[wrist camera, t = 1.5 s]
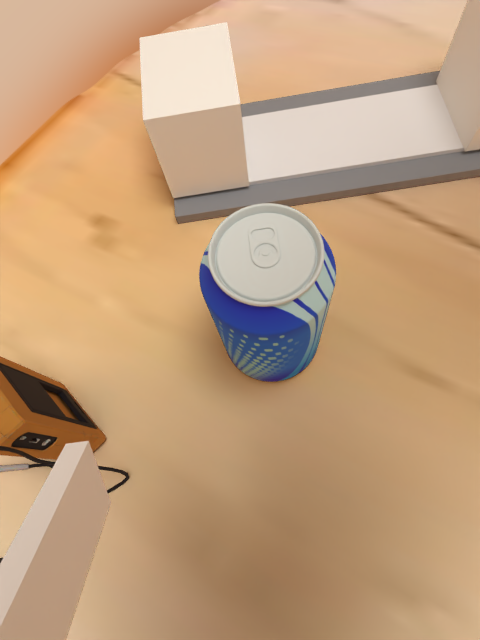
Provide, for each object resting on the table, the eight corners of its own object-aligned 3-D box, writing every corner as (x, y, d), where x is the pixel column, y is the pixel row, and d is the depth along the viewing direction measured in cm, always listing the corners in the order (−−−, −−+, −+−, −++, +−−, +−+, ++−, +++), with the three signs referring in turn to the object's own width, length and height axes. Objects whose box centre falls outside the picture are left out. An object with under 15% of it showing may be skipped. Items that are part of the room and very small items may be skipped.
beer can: (334, 325, 38) (368, 227, 23) (287, 403, 36) (291, 349, 21) (257, 283, 40) (243, 169, 25) (208, 354, 38) (162, 274, 23)
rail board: (496, 70, 47) (560, -53, 36) (543, 166, 42) (636, 57, 31) (170, 124, 49) (138, 23, 38) (178, 223, 44) (143, 138, 33)
